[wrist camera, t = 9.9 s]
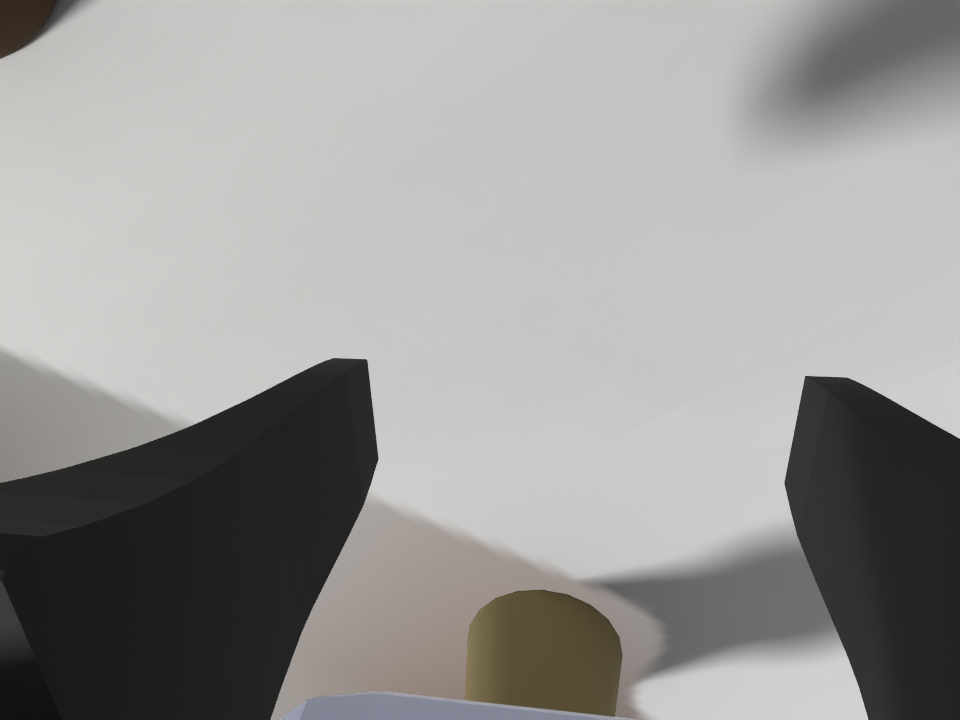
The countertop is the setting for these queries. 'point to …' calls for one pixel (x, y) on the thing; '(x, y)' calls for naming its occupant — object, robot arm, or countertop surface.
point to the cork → (543, 654)
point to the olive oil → (21, 22)
